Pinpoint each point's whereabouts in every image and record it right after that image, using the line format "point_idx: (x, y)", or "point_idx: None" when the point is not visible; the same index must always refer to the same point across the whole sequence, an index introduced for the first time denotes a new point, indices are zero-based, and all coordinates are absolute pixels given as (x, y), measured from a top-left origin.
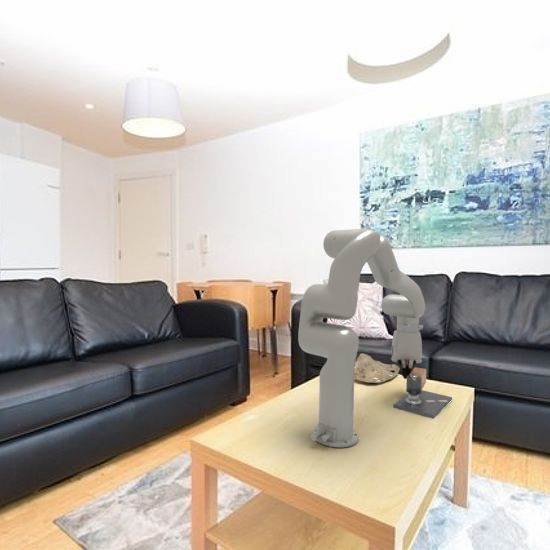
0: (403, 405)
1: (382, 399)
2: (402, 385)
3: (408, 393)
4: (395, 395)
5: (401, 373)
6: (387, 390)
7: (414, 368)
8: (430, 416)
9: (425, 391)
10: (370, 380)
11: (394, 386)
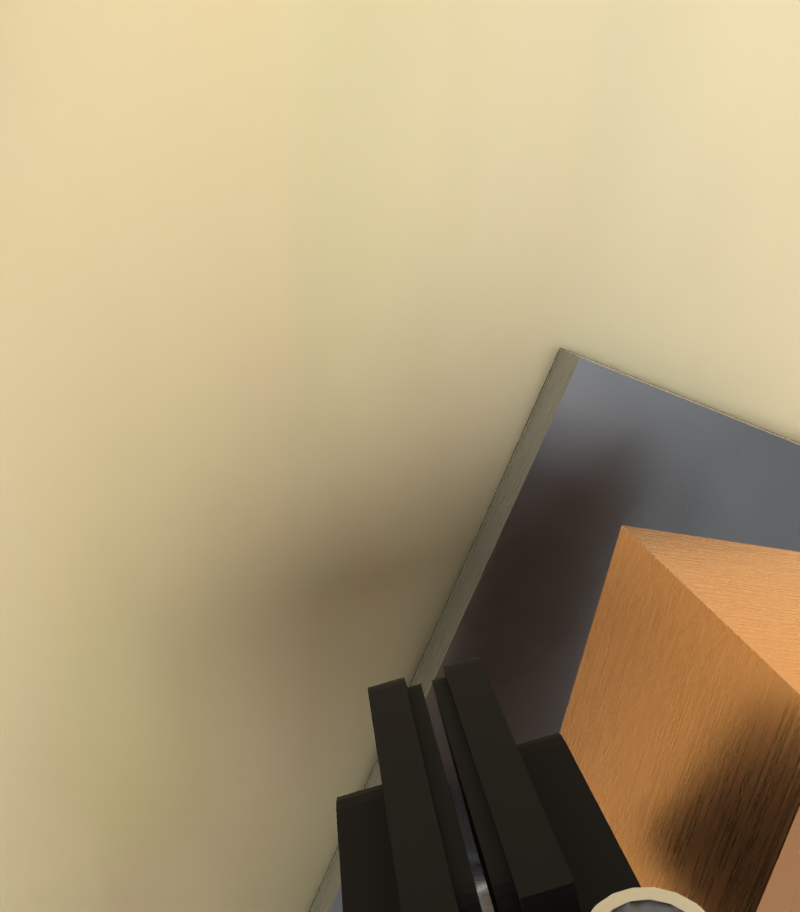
0: None
1: (78, 863)
2: (336, 39)
3: (449, 654)
4: (244, 643)
5: (341, 825)
6: (82, 464)
7: (792, 860)
8: None
9: (734, 448)
10: None
11: (180, 174)
